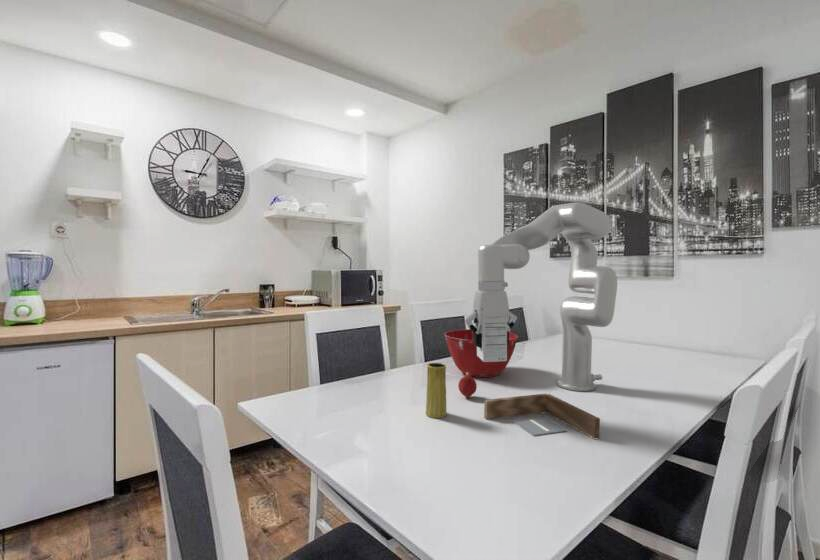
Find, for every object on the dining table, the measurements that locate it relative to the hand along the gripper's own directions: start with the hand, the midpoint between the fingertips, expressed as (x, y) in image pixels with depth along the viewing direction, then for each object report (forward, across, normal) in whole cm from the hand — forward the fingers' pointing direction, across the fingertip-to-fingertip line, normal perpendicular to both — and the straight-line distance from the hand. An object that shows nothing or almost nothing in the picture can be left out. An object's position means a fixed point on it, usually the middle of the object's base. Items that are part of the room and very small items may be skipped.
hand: (491, 345), depth 123 cm
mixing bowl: (+20, -15, -37) cm, 44 cm away
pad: (+19, -5, +16) cm, 25 cm away
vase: (+19, +18, 0) cm, 26 cm away
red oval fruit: (+19, +3, -11) cm, 22 cm away
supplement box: (+4, 0, 0) cm, 4 cm away
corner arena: (+19, -4, +17) cm, 26 cm away
